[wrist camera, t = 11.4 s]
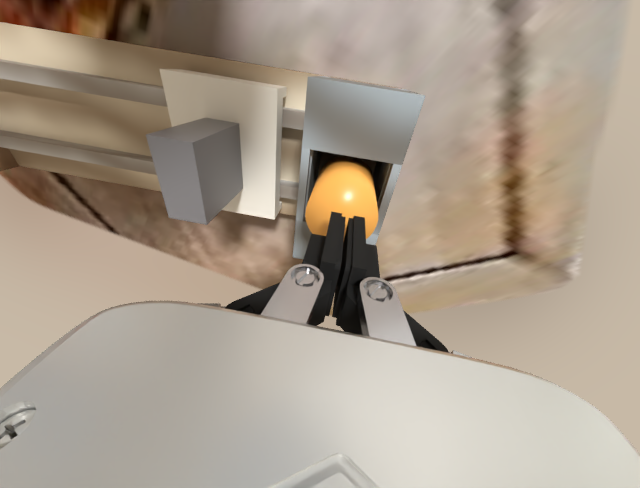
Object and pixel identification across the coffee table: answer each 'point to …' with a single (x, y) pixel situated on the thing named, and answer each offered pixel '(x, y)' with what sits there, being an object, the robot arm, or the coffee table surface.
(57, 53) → the rail bed
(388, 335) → the robot arm
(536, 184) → the coffee table surface
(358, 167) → the button
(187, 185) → the carriage
